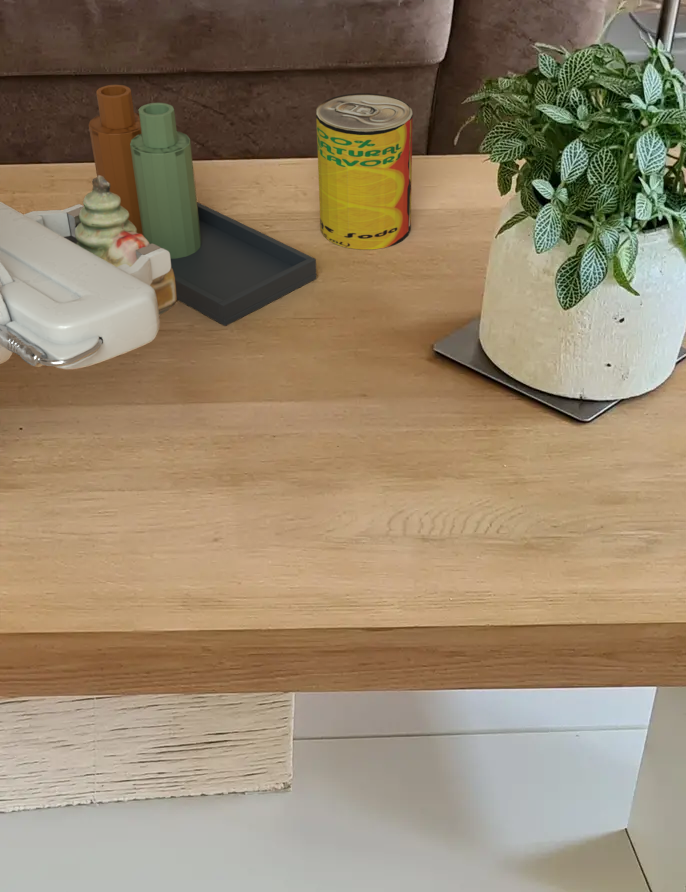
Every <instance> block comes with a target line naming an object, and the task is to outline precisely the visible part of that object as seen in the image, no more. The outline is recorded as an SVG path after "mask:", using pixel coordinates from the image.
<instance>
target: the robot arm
mask: <svg viewBox="0 0 686 892" xmlns="http://www.w3.org/2000/svg"><path fill="white" fill-rule="evenodd" d="M83 207H84V204H79V203H77V204H74V205H72V206H70V207H66V208H64V209H49V210H48V209H47V210H32V211H29V212H27V213H24V214H23V213H21V212H20V211H18V210H16V209H14V208H13V207H11V206H9V205H7V204H6V203H4V202H2V201H0V365H1V364H4V363H6V362H7V361H9V360H10V358H11V357H12V355H13V353H14V354H15V355H18V356H19V357H20V358H21V360H23V361H24V362H25V363H27V364H28V365H29V366H33V367H36V368H41V367H43V366H46V367H55V368H56V369H60V370H79V369H83V368H87V367H90V366H93V365H97V364H100V363H103V362H105V361H108V360H111V359H114V358H116V357H118V356H122V355H124V354H127V353H129V352H131V351H134V350H136V349H139V348H141V347H144V346H145V345H148V344H149V343H151V342H153V341H154V340H155V339H156V338H157V335H158V333H159V331H160V328H161V320H160V315H159V310H158V303H157V297H156V293H155V290H154V289H153V288H152V287H151V286H150V284H151V283H152V281H153V280H154V279H156V278H158V277H160V276H162V275H164V274H167V273H168V272H169V271H170V269H171V259H170V253H169V251H167V250H165V249H163V248H161V247H159V246H157V245H156V244H149V245H148V246H147V247H142V248H140V249H138V250H136V258H137V261H136V262H135V263H134V264H133V265H132V266H131V267H130V266H129V265H127V264H123V265H120V266H118V267H116V266H114V265H112V264H111V263H109V262H107V261H105V260H103V259H102V258H100V257H98V256H96V255H95V254H93V253H91V252H89V251H87V250H86V249H84V248H82V247H80V246H79V245H77V244H75V243H73V242H71V241H70V240H68V239H66V238H64V237H67V236H73V237H75V229H76V227H77V226H78V225H79V224H80V223H81V221H80V219H79V213H80V211H81V209H82V208H83ZM75 238H76V237H75Z"/></svg>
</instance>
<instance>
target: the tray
mask: <svg viewBox="0 0 686 892" xmlns="http://www.w3.org/2000/svg"><path fill="white" fill-rule="evenodd" d="M197 207H198V217H199V226H200V235H201V247H200V248H199V249H198V250H197V251H196V252H195V253H193V254H191V255H189V256H186V257H181V258H176V259H171V268H172V269H173V272H174V276H175V284H176V296H177V302H180V303H182V304H183V305H186V306H188V307H189V308H191V309H193V310H195V311H197V312H198V313H200V314H202V315H204V316H206V317H208V319H209V318H210V319H211V320H213V321H214V322H217V323H218V324H220V325H222V326H224V327H227V326H228V325H230V324H232V323H234V322H237V321H238V320H239V319H242V318H244V317H246V316H247V315H249V314H251V313H253V312H256V311H258V310H259V309H261V308H264V307H265V306H267V305H268V304H271V303H272V302H274V301H276V300H278V299H281V298H282V297H284V296H286V295H288V294H290V293H292V292H294V291H296V290H298V289H300V288H302V287H304V286H305V285H307V284H309V283H310V282H313V281H315V280H317V259H316V258H315V257H313V256H311V255H308V254H307V253H304V252H302V251H300V250H299V249H297V248H294V247H292V246H290V245H288V244H285V243H284V242H281V241H280V240H278V239H275V238H273V237H271V236H269V235H267V234H265V233H263V232H261V231H258V230H256V229H255V228H252V227H250V226H248V225H246V224H244V223H242V222H240V221H238V220H236V219H234V218H232V217H229V216H228V215H225V214H223V213H221V212H219V211H217V210H215V209H213V208H211V207H209V206H206V205H204V204H203V203H200V202H198V201H197ZM64 238H66V239H68V240H70V241H71V242H73V243H75V244H76V243H77V242H78V241H77V239H76V238H75V237H73V236H67V237H64Z"/></svg>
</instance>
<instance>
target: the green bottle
mask: <svg viewBox="0 0 686 892" xmlns="http://www.w3.org/2000/svg"><path fill="white" fill-rule="evenodd" d="M137 111H138V114H139V118H140V126H141V133H142V134H139V135H137V136H135V137H134V138H133V139H132V140H131V143H130V147H131V155H132V162H133V169H134V176H135V183H136V190H137V197H138V204H139V211H140V218H141V225H142V232H143V236H144V237H145V238H146V239H147V241H148V242H149V244H156V245H157V246H159V247H161V248H163V249H165V250H167V251H169V253H170V259H176V258H181V257H186V256H189V255H191V254H193V253H195V252H196V251H197V250H198V249H199V248H200V247H201V235H200V226H199V217H198V207H197V202H198V199H197V191H196V181H195V172H194V171H195V170H194V164H193V163H194V162H193V152H192V145H191V143H192V142H191V139H190V137H189V136H188V135H187V134H186V133H184V132H181V131H177V130H178V129H177V123H176V121H177V120H176V114H175V113H176V112H175V109H174V106H173V105H171V104H169V103H166V102H151V103H147V104H144V105H142V106H140V107H139V109H137Z"/></svg>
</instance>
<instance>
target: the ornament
mask: <svg viewBox="0 0 686 892" xmlns="http://www.w3.org/2000/svg"><path fill="white" fill-rule="evenodd" d="M91 184H92V190H91V191H90V192H88V193H87V194H86V195H85V196H84V198H83V200H82V203H83V204H82V205H83V206H84V207H83V208H82V209H81V211H80V213H79V219H80V221H81V223H80V224H79V225H78V226H77V227H76V229H75V237H76V239H77V241H78V242H77V243H76V244H77V245H79V246H80V247H82V248H84V249H86V250H87V251H89V252H91V253H93V254H95V255H96V256H98V257H100V258H102V259H103V260H105V261H107V262H109V263H111V264H112V265H114V266H116V267H118V266H120V265H123V264H127V265H129V266H130V267H131V266H132V265H133V264H134V263H135V262H136V261H137V258H136V250H138V249H140V248H142V247H147V246H148V245H149V242H148V241H147V239H146V238H145V237H144V236H143V235H142V234H139V233H137V229H136V227H135V226H134V225H133V224H132V223H131V222H130V221H129V220H128V218H129V212H128V211H127V210H126V209H125V208H124V207H122V206H120V203H121V199H120V197H119V196H118V195H117V194H114V193H112V192H110V190H109V189H110V183H109V182H108V181H107V180H106V179H105V178H104V177H103V176H100V175H98V176H97V175H96V177H94V178H92V181H91ZM150 286H151V287H152V288H153V289H154V290H155V293H156V297H157V303H158V310H159V316H160V315H162V314H164V313H166V312H168V311H169V310H170V309H171V308H173V307H175V305H176V303H177V302H178V300H177V296H176V284H175V276H174V272H173V269H172V268H171V269H170V271H169V272H168V273H167V274H164V275H162V276H160V277H158V278H156V279H154V280H153V281H152V283H151V284H150Z"/></svg>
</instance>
